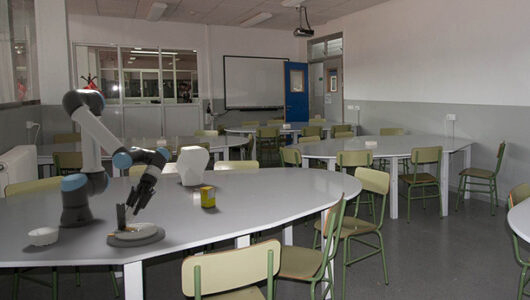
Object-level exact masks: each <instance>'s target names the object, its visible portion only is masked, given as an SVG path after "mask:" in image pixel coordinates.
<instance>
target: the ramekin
mask: <svg viewBox="0 0 530 300" xmlns="http://www.w3.org/2000/svg"><path fill="white" fill-rule="evenodd" d="M59 233H60V228H59V227H57V226H46V227H45V226H44V227H39V228H36V229H33V230H31V231H29V232H28V234H27V236H28V237H29V240H30V243H31V246H33V245H35V246H34V247H38V246H39V247H44V246H43V245H47V246H49V245H48V244H50V245H53V244H55V243H56V242H57V241H58V239H59V238H58V237H59ZM54 242H55V243H54ZM52 243H53V244H52ZM41 245H42V246H41Z"/></svg>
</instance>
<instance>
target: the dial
mask: <svg viewBox="0 0 530 300" xmlns="http://www.w3.org/2000/svg"><path fill="white" fill-rule="evenodd" d="M115 208H116V210H115V211H116V223H117V224H116V225H117V228H116V229H115V230H113V232H114V237H115V239H117V240H120V241H138V240H144V239H147V238H150V237H153V236H155V235H156V234H157V233H158V227H159V226H158V225H157V224H156V223H152V222H151V223H150V222H134V223H129V224H127V222H126V213H125V211H126V202H116V204H115Z"/></svg>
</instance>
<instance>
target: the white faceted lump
mask: <svg viewBox="0 0 530 300" xmlns="http://www.w3.org/2000/svg"><path fill="white" fill-rule="evenodd" d="M210 159H211V158H210V154H209V151H208V149H207V148H205V147H201V146H199V145H190V146H183V147H181V148H180V154H179V155H178V158H177V160H176V162H175V166H174V167H175V169H176V171H177V173H178V174H179V176H180V177H181V179H180V180H181V183H182V186H183V187H190V186H192V187H193V186H199V185H202V183H203V176H204V174H205V169H206V167H207V166H208V163H209V161H210Z"/></svg>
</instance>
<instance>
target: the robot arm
mask: <svg viewBox="0 0 530 300" xmlns="http://www.w3.org/2000/svg"><path fill="white" fill-rule="evenodd" d="M106 104H107V102H106V98H105V97H104V95H103V94H102V93H101V92H99V91H98V90H94V89H71V90H68V91H67V92H65V94H63V97H62V98H61V106H62V109H63V110H64V112H65V113H66V115H67V116H68V118H70V119H71V121H73V122H75V121H76V123H78V124H79V125H80V137H81V149H82V168H81V169H80V171H79V173H73V174H70V175H66V176H64V177H63V178H62V179H61V180H60V195H61V205H62V210H61V216H60V219H59V226H60V227H61V226H62V228H65V227H69V228H68V229H71V228H73V229H74V228H81V227H85V226H88V225H91V224H92V223H94V222H95V215H94V213H93V212H92V209H91V207H90V200H89V199H90V198H93V197H94V196H99V195H102V194H103V193H105V192H106V191H107V190H108V189H109V187H110V185H111V178H110V175H109V174H108V173H107V172H106V169H105V167H103V165H102V151H101V148H102V149H103V150H104V151H105V152H106V153H107V154H108V155H109V156H110V157H111V158H112V164H113V166H114V168H116V169H118V170H125V169H126V170H127V169H130V168H132V167H135V166H139V165H146V167H145V169H144V172H143V173H142V174H141V177H140V178H139V182H138V184H137V185H136V186H134V185H132V186H131V188H130V192H129V195H128V197H127V199H126V201H125V206H127V207H126V208H125V213H126V223H127V222H129V224H133V222H134V219H135V217H136V216H137V215H138V214H139V211H140V210H144V209H145V208H146V207H147V205H148V204H149V203H150V201H151V199H152V198H153V196H154V195H155V194H157V193H156V192H157V191H156V190H155V189H154V187H155V186H156V185H157V182H158V180H160V178H161V175H162V173H163V170H165V169H164V168H165V167H166V165H167V163H168V162H169V160H170V156H171V153H170V151H169V150H168V149H167V148H166V147H161V146H160V147H157V148H156V149H155V150H152V149H146V148H143V147H140V146H139V147H137V146H132V147H130V148H129V149H128V148H127V147H125V145H124V144H123V143H122V142H121V141H120V140H119V139H118V138H117V137H116V136H115V135H114V134H113V133H112V132H111V131H110V130H109V128H108V127H106V126H105V125H104V123H102V122H101V120H100V119H101V118H102V116H103V115H102V112H103V111H104V110H105V108H106V106H107V105H106Z"/></svg>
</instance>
